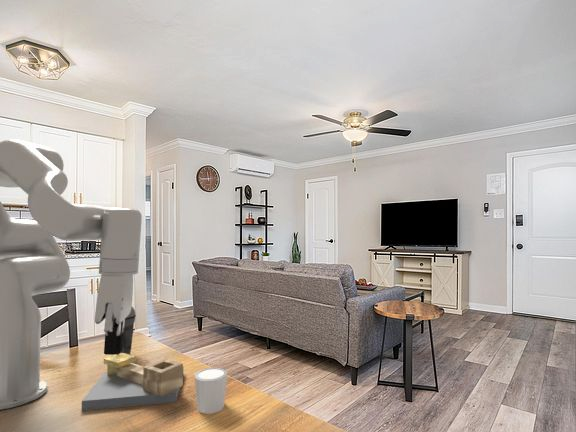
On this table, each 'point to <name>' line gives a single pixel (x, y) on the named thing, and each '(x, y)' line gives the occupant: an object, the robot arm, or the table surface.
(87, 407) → the board
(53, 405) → the table surface
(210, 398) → the white cylinder
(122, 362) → the block
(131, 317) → the beverage cup
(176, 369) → the link
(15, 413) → the table surface
